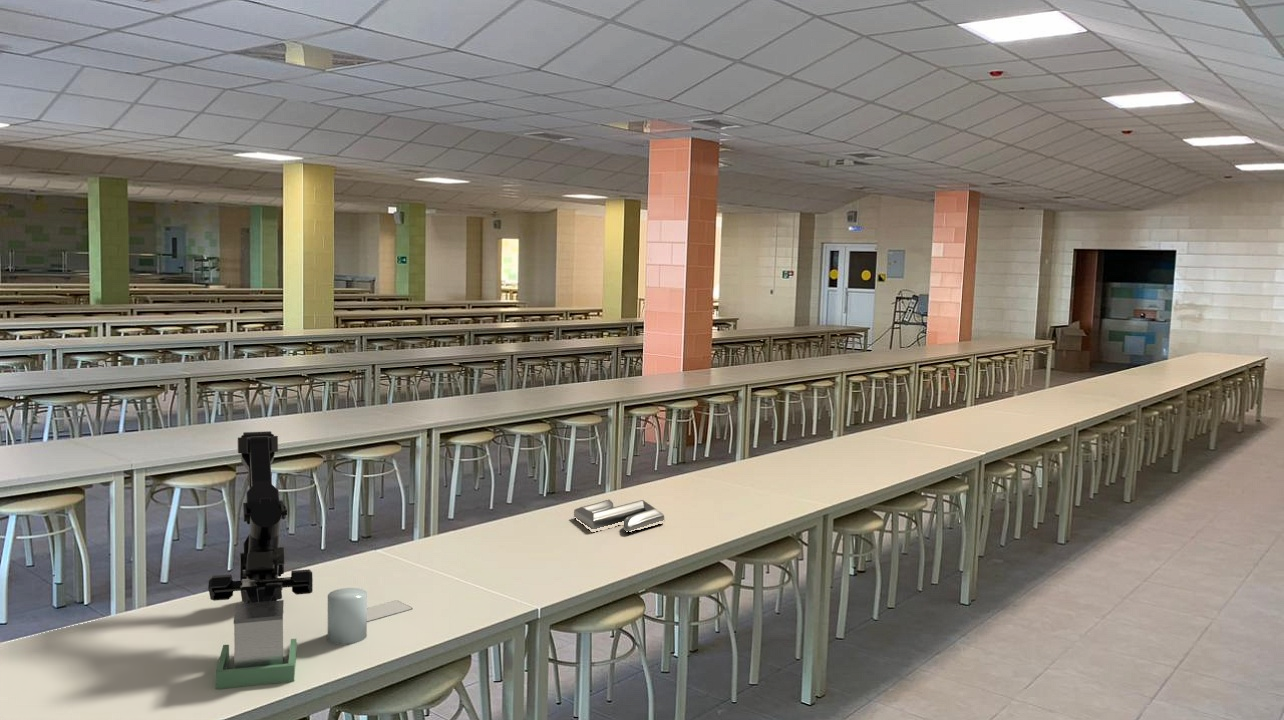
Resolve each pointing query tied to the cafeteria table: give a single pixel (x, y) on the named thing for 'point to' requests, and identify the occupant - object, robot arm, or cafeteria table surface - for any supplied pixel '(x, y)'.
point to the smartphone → (386, 610)
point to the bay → (254, 671)
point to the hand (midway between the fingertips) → (259, 626)
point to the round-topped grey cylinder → (347, 615)
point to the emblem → (618, 514)
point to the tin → (258, 634)
